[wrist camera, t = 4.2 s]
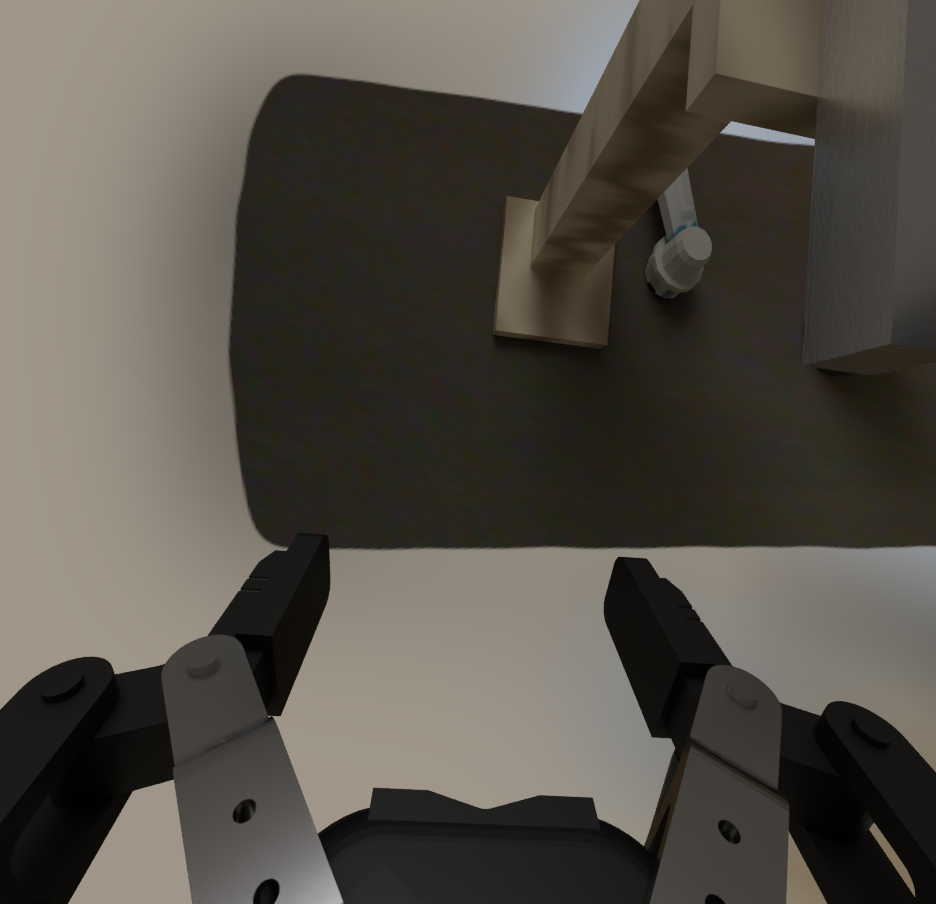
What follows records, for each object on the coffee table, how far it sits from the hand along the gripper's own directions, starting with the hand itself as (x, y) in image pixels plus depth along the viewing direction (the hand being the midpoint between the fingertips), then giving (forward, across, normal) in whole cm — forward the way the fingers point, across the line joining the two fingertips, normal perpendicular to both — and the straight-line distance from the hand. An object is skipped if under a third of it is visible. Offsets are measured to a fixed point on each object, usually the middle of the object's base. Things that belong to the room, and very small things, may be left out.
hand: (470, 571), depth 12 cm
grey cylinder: (+46, -19, -18) cm, 53 cm away
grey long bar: (+9, -12, -16) cm, 21 cm away
